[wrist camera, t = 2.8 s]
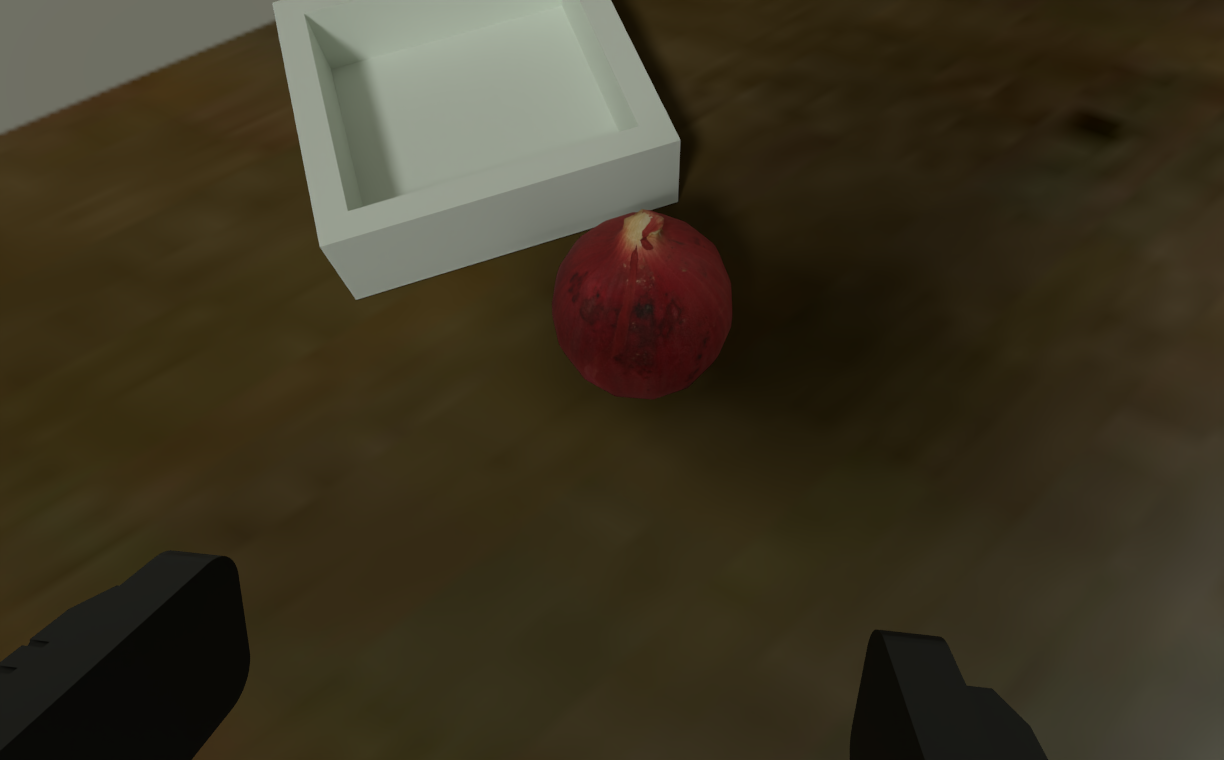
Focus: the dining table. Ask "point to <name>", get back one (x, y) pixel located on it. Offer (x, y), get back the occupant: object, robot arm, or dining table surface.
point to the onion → (642, 305)
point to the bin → (468, 129)
